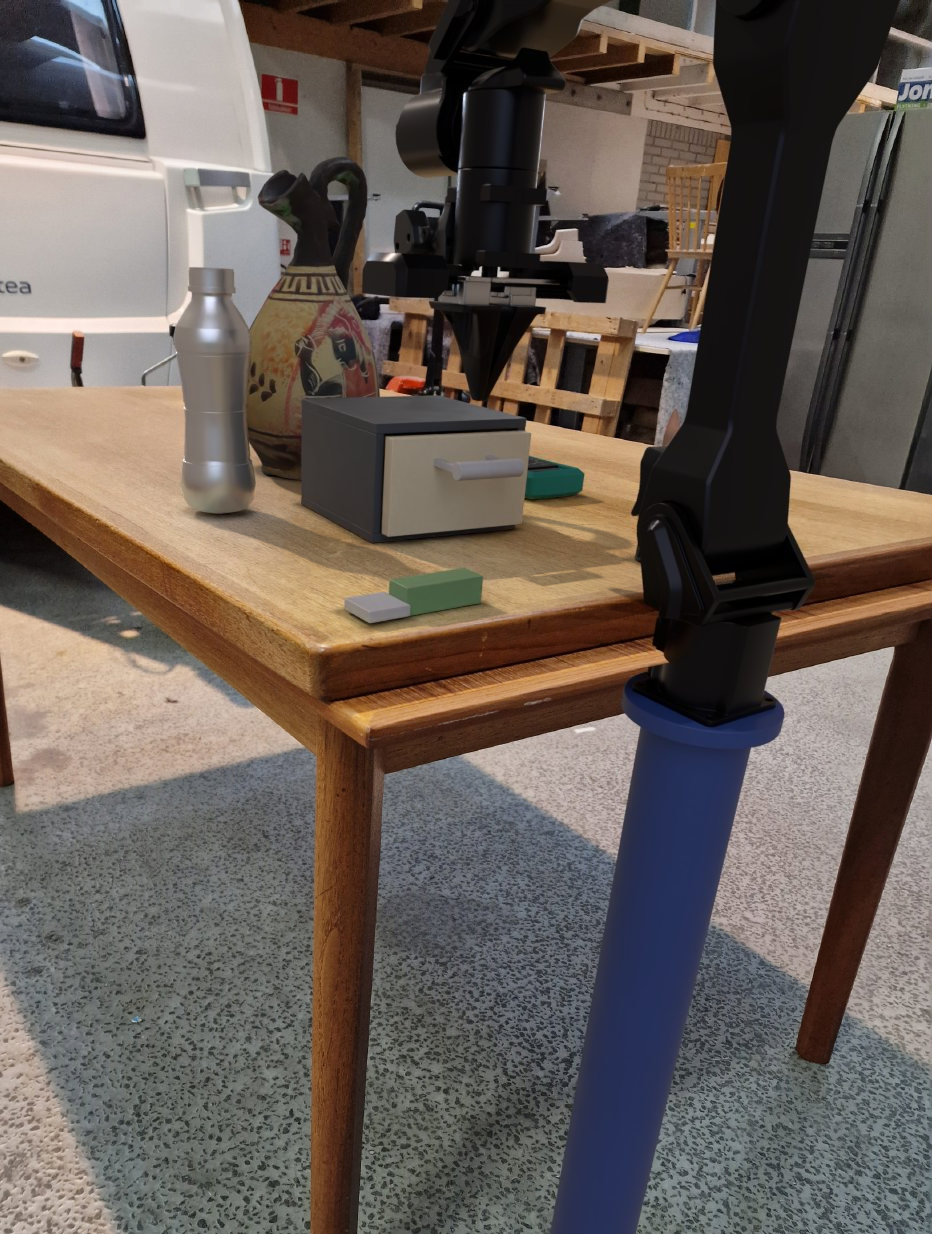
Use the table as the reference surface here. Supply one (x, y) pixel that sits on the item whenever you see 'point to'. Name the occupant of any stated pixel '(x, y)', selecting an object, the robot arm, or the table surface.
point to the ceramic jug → (308, 316)
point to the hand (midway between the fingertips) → (479, 400)
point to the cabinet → (375, 452)
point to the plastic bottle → (214, 395)
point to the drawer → (453, 480)
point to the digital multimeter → (552, 479)
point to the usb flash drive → (419, 595)
